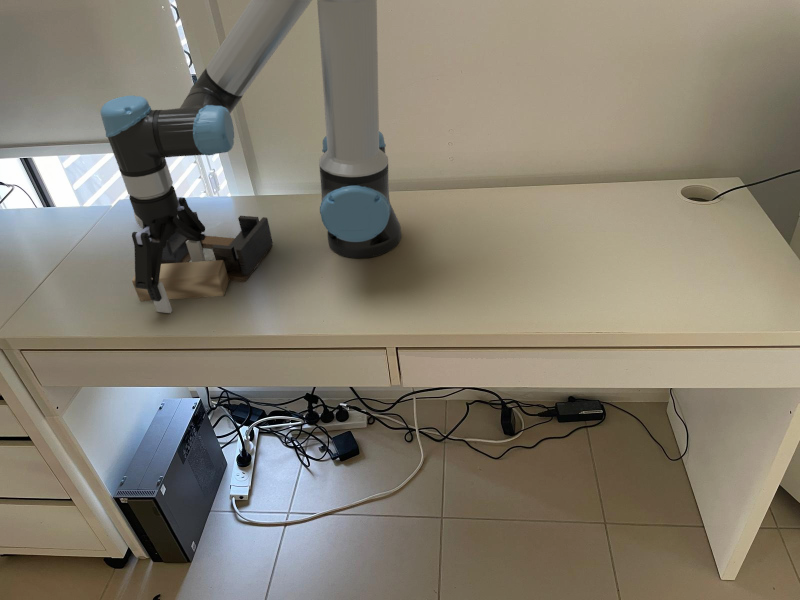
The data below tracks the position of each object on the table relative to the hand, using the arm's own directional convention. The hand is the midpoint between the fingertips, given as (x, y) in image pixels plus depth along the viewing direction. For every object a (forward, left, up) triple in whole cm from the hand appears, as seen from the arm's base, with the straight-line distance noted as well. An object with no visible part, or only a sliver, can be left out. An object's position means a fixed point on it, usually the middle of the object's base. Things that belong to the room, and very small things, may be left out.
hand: (183, 289), depth 122 cm
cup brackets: (0, -11, 0) cm, 11 cm away
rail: (0, 0, 0) cm, 0 cm away
